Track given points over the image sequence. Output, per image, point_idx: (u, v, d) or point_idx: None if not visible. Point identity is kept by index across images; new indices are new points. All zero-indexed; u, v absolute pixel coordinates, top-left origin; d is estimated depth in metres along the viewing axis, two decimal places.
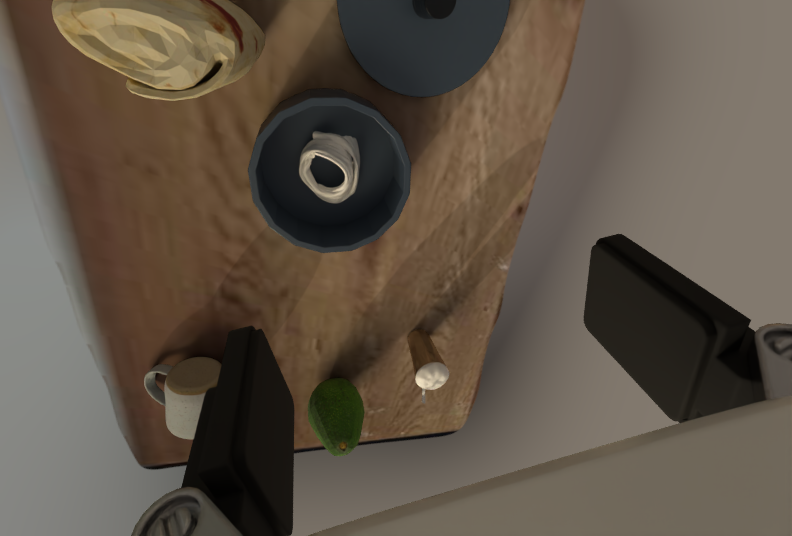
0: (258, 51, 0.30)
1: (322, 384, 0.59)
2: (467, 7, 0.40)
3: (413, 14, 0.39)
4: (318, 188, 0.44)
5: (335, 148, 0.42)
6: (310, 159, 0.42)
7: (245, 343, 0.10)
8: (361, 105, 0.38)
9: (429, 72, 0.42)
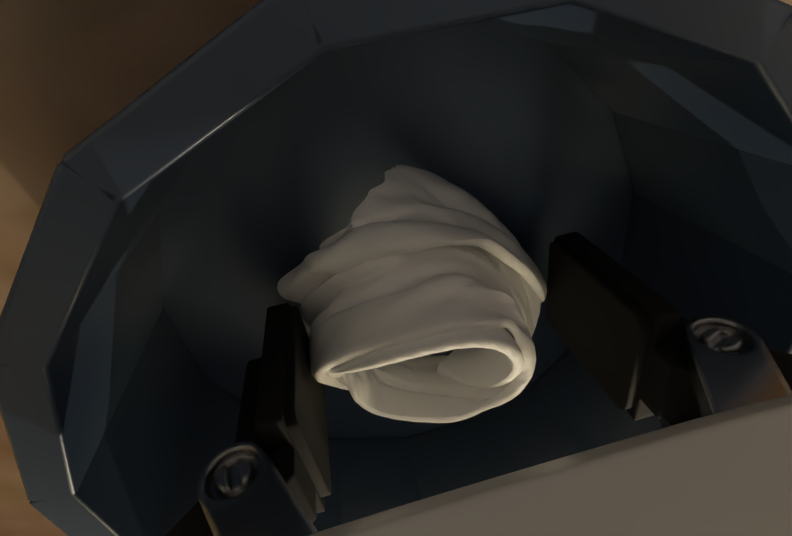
0: None
1: None
2: None
3: None
4: (450, 401, 0.12)
5: (370, 285, 0.09)
6: (347, 378, 0.11)
7: (284, 317, 0.10)
8: (176, 84, 0.04)
9: None
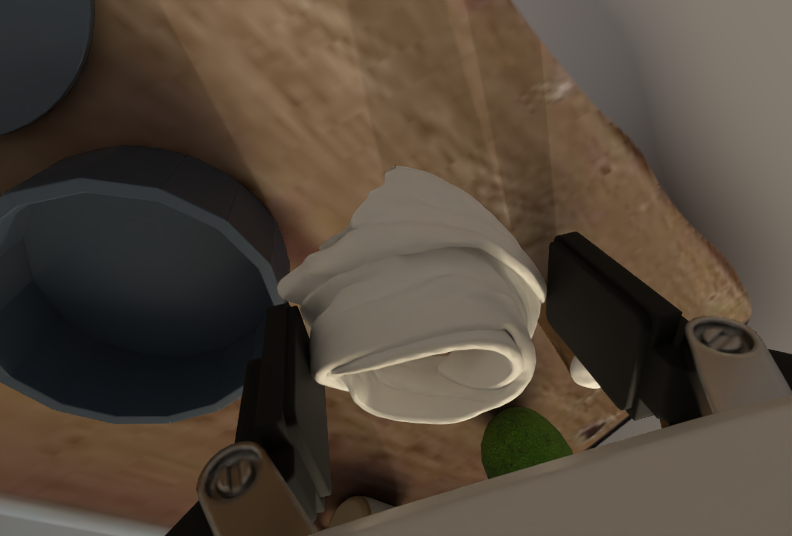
0: None
1: (483, 442, 0.39)
2: None
3: None
4: (450, 402, 0.12)
5: (370, 287, 0.09)
6: (347, 379, 0.11)
7: (284, 317, 0.10)
8: None
9: (28, 13, 0.19)
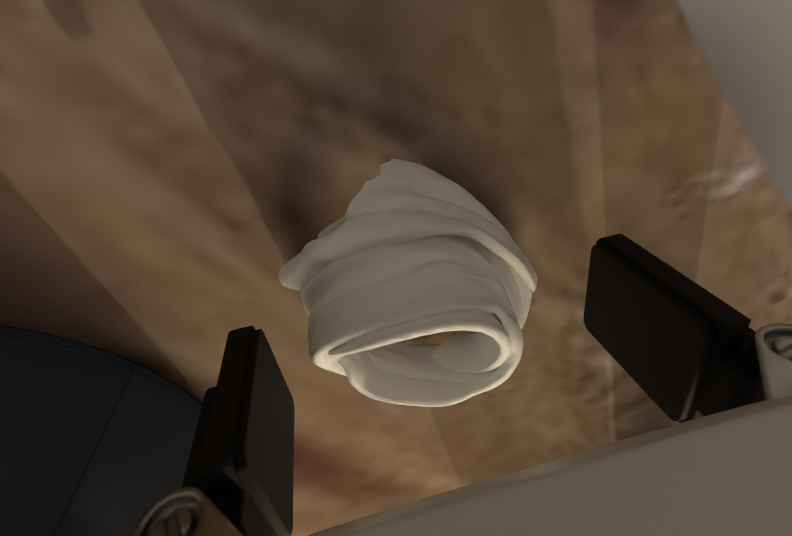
0: None
1: None
2: None
3: None
4: (443, 386, 0.12)
5: (365, 273, 0.10)
6: (344, 362, 0.11)
7: (245, 343, 0.10)
8: None
9: None
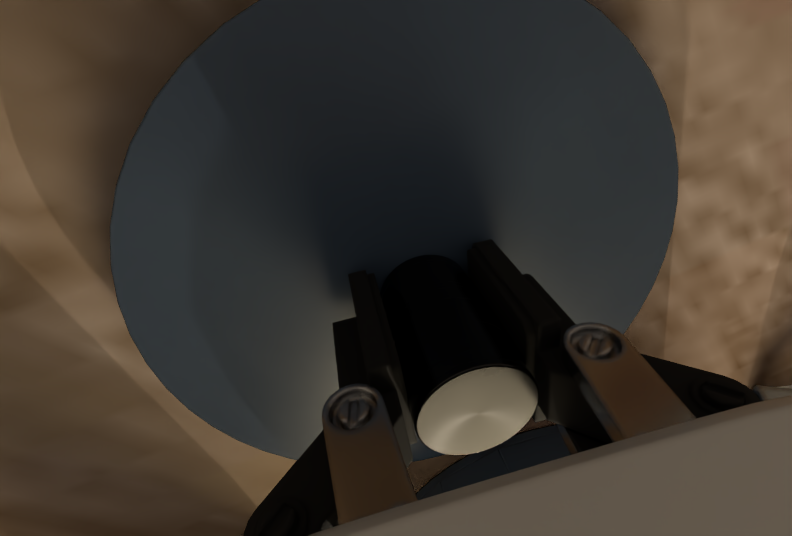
0: None
1: None
2: (520, 190, 0.12)
3: None
4: None
5: None
6: None
7: (367, 281, 0.11)
8: None
9: None
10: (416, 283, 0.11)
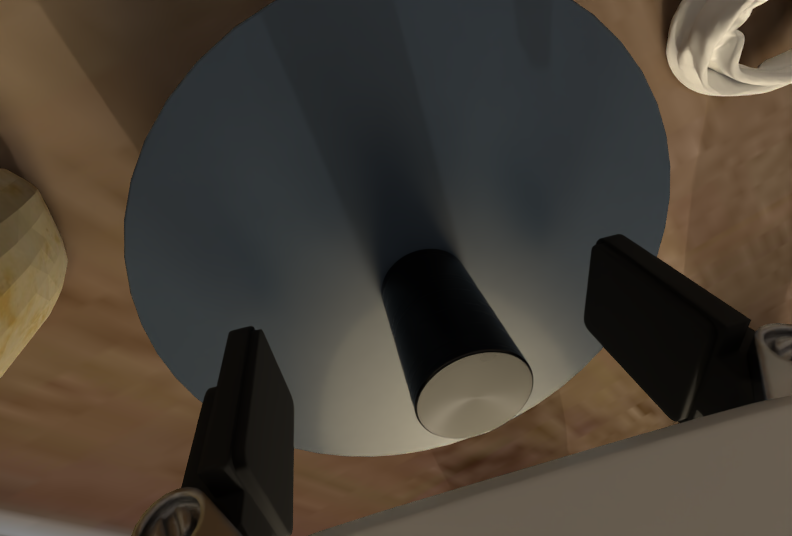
0: None
1: None
2: (517, 187, 0.12)
3: None
4: (789, 72, 0.16)
5: None
6: (738, 32, 0.15)
7: (245, 343, 0.10)
8: None
9: (558, 337, 0.16)
10: (417, 275, 0.11)
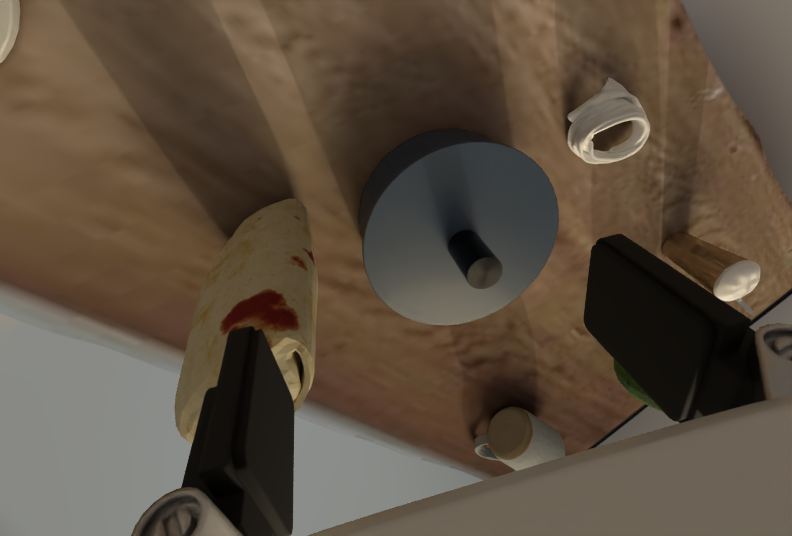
0: (306, 252, 0.27)
1: None
2: (499, 207, 0.33)
3: None
4: (616, 155, 0.37)
5: (605, 108, 0.35)
6: (590, 141, 0.36)
7: (245, 343, 0.10)
8: None
9: (518, 269, 0.37)
10: (463, 238, 0.32)
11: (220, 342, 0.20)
